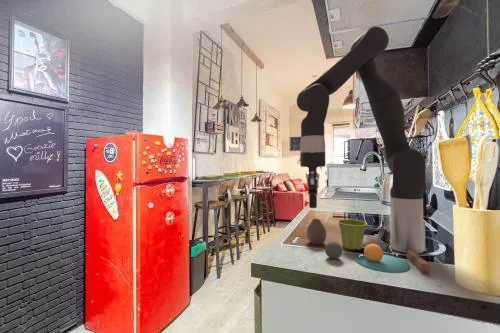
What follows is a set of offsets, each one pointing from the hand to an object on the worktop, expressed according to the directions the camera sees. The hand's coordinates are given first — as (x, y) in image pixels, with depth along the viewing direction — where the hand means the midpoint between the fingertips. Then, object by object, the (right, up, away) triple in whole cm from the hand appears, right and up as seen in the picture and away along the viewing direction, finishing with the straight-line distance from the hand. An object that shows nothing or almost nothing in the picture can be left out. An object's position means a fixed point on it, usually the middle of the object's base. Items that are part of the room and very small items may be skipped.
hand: (313, 207), depth 77 cm
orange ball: (+16, -12, -5) cm, 21 cm away
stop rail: (+27, -15, -8) cm, 32 cm away
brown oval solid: (+5, -15, +13) cm, 21 cm away
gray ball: (+6, -13, -2) cm, 14 cm away
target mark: (+18, -15, -5) cm, 24 cm away
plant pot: (+16, -15, +8) cm, 23 cm away
